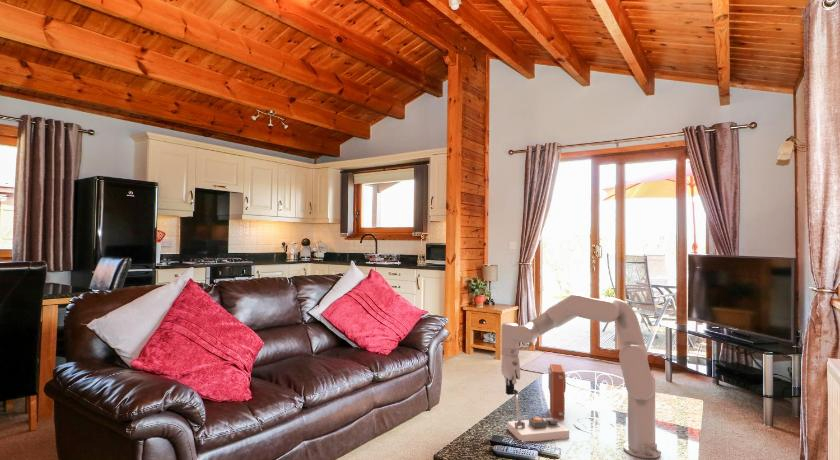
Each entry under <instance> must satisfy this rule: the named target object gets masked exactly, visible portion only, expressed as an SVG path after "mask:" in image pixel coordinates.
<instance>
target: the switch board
mask: <svg viewBox="0 0 840 460" xmlns="http://www.w3.org/2000/svg"><path fill="white" fill-rule="evenodd" d="M538 417H539V418H542V417H540V416H538ZM533 418H534V417H529V418H528V419H524V420H522V419H521V422H523V426H518V423H517V422H518V420H513V421H512V420H511V421H510V420H509V421H507V423H506V424H507V425H506V427H507V430H508V431H509V432H510V433H511V434H512V435H513V436H514V437H515V438H516V439H517V440H518V441H520V440H521V441H531V442H530V443H532V441H533V442H540V441H541V442H542V441H551V440H552V439H553V440H561V439H563V440H564V439H569V438H570V430H569V429H568V428H566V427H565V426H564V425H563V424H562V423H560V422H558V423H553V424H550V423H548V420H547V419H553V418H552V417H545V418H542V422H534V421H533ZM555 420H558V421H559V419H555ZM553 440H552V441H553ZM521 441H520V442H521Z"/></svg>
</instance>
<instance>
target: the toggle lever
mask: <svg viewBox="0 0 840 460" xmlns="http://www.w3.org/2000/svg"><path fill="white" fill-rule="evenodd" d="M513 393H514V394H513V395H514V401H515V402H514V403H515V408H516V409H515V410H516V416H517V421H518V422H517V423H518V426H523V422H521V420H522V419H521V411H520V404H519V397H518V393H519V391H518V389H514V391H513Z"/></svg>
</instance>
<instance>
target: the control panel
mask: <svg viewBox="0 0 840 460" xmlns="http://www.w3.org/2000/svg"><path fill="white" fill-rule="evenodd" d="M547 370H548V391H549V410H550V414H551V418H553V419H558V420H565V416H566V415H565V414H566V413H565V412H566V411H565V410H566V409H565V402H566V401H565V398H566V397H565V393H566V389H567V388H566V380H567V379H566V372H565V370H564V367H563V365H562V364H557V363H550V364H549V367H548V369H547Z"/></svg>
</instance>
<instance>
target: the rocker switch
mask: <svg viewBox="0 0 840 460" xmlns="http://www.w3.org/2000/svg"><path fill="white" fill-rule="evenodd" d="M547 420H548V423H550V424H553V423H559V419H558V420H555V419H547Z"/></svg>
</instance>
